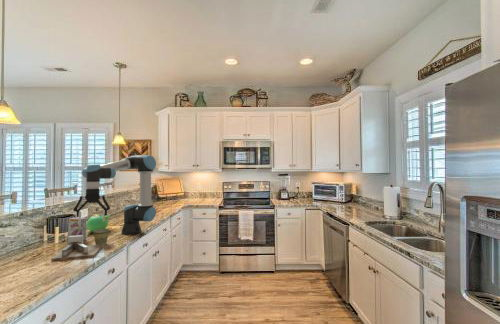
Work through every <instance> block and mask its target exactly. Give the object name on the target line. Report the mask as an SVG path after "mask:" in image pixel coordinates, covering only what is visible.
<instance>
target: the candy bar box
mask: <svg viewBox="0 0 500 324" xmlns="http://www.w3.org/2000/svg"><path fill="white" fill-rule="evenodd" d="M78 218H79V217H70V218H67V221H68V222H67V237H68V236H76V235H83V242H84V241H86V240H87V218H86V217H81V222H79V223H78Z"/></svg>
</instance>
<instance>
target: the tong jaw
mask: <svg viewBox="0 0 500 324" xmlns="http://www.w3.org/2000/svg"><path fill="white" fill-rule="evenodd" d="M88 246H89V245H86V244H84V243H83V244H81V242H77V244H76V250H78V251H80V252H82V253H88Z"/></svg>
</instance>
